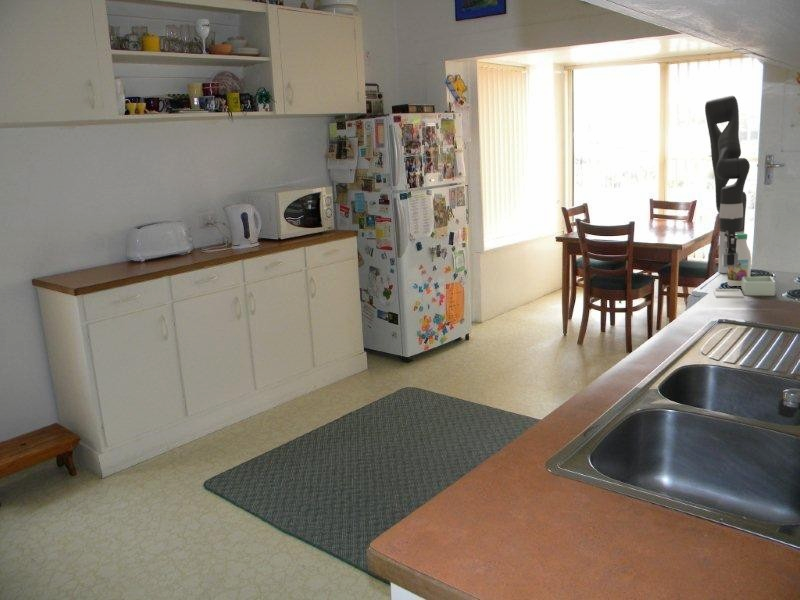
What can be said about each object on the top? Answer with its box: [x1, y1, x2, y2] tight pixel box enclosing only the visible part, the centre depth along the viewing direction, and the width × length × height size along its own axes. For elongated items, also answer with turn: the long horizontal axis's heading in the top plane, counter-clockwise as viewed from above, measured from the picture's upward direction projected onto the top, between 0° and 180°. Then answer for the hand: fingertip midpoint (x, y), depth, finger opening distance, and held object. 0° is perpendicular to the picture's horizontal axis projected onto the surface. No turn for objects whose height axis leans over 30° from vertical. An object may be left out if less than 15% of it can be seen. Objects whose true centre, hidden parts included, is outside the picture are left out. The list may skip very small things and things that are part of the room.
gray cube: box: [722, 252, 738, 267], centre depth 248 cm, size 5×5×5 cm
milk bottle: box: [727, 232, 752, 287], centre depth 261 cm, size 8×8×20 cm
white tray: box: [712, 288, 745, 299], centre depth 251 cm, size 11×9×1 cm
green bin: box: [740, 276, 776, 297], centre depth 250 cm, size 10×10×5 cm
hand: (729, 263), depth 248 cm, fingers closed on gray cube, 4 cm apart
